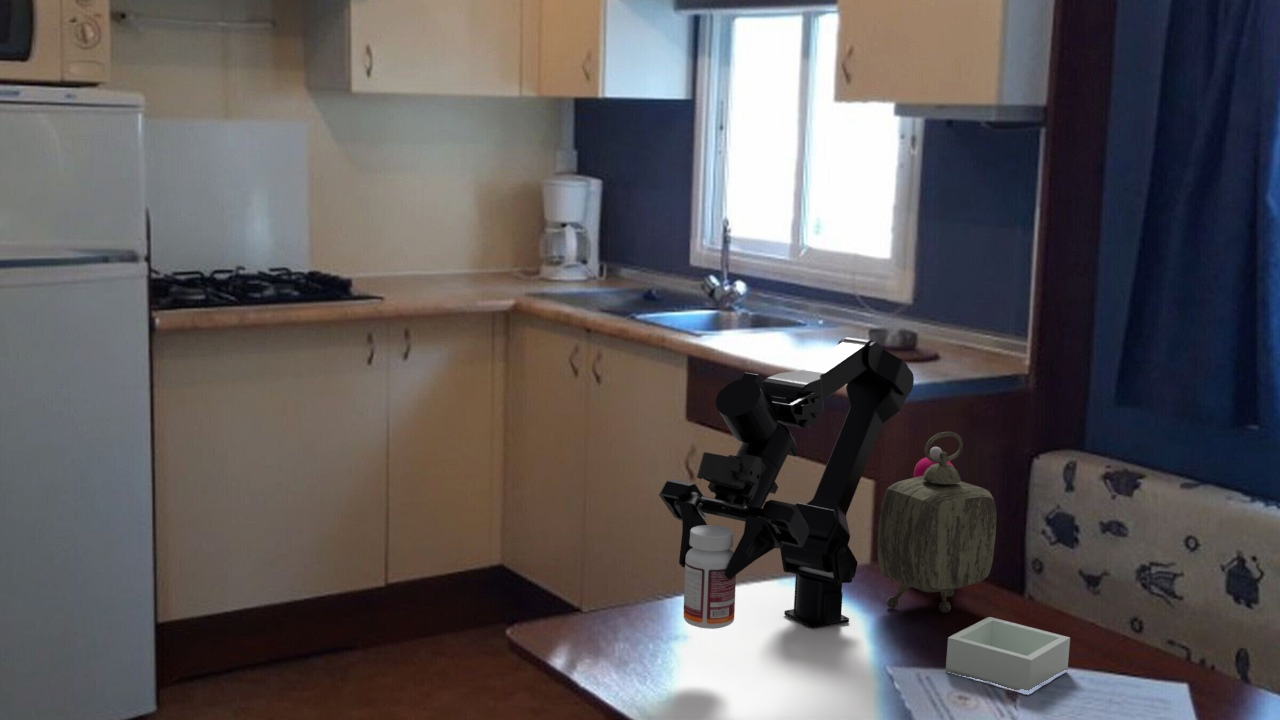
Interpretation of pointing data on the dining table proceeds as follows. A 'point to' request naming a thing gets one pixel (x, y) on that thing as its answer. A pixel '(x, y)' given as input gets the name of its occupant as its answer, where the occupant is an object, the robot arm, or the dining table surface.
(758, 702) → the dining table surface
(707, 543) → the pill bottle
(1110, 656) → the dining table surface
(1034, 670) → the sage open tray box
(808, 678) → the dining table surface
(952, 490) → the tabletop clock
